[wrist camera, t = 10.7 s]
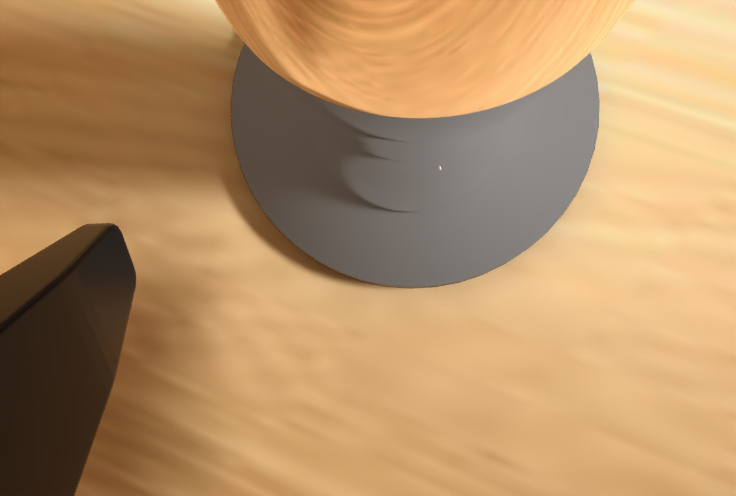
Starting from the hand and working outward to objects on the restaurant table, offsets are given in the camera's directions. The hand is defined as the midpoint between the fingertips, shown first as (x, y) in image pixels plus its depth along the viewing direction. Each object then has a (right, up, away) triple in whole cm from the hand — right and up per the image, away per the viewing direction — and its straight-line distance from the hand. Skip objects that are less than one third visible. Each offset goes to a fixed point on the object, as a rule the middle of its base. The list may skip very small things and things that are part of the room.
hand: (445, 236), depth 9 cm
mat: (0, +4, +11) cm, 12 cm away
